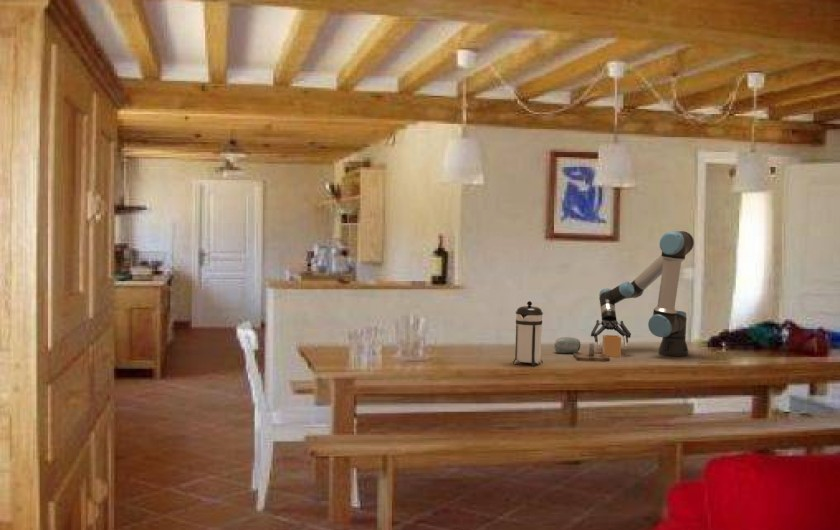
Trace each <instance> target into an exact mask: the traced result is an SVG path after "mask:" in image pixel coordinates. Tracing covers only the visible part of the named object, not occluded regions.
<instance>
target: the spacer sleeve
mask: <svg viewBox="0 0 840 530" xmlns="http://www.w3.org/2000/svg"><path fill="white" fill-rule="evenodd" d="M601 347H602V348H601V350H602V352H601V354H606V355H607V356H609V358H622V356H621V355H622V354H621V352H622V351H621V350H622V337H621V335H620V334H619V335H618V334H617V335H614V334H612V335H611V334H603V335H602V346H601Z"/></svg>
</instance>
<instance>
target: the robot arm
mask: <svg viewBox="0 0 840 530" xmlns="http://www.w3.org/2000/svg"><path fill="white" fill-rule="evenodd" d="M694 245H695V240H694V237H693V235H691V234H690V232H687V231H685V230H683V231H682V230H681V231H678V230H670V231H667V232H665V233H664V234H663V235H662V236H661V238H660V239H659V248H660V250H661V254H660V255H659V256H658V257H657V258H656V259H655V260H654V261H653V262H652V263H651V264H650V265H649V266H648V267H646V268H645V269H644V270H643V271H642V272H641V273H640V274H639V275H638V276H637V277H635V279H633V280H632V282H629V281H625V282H623V283H620V284H618V285H617V286H616V287H614V288H612V289H611V288H603V289H601V290H600V291H599V295H598V296H599V300H598V301H599V305H600V314H601V315H600V317H601V321H600V320H599V319H597V320H596V321H595V325H594V327H593V329H592V330H591V333H590V337H594V343H596V344H597V349H600V345H601V343H600V335H601V334H602V332H604V331H605V330H610V331H612V330H614V331H615V332H617V333H618V334H619V335H620V336H622V337H623V338H622V339H623V347H624V350H627V347H628V345H627V344H628V343H629V339H630V338H631V335H632V333H631V331H630V330H629V329H628V328H627V327H626V326H625V324H624V321H623V320H621V321H618V319H617V315H616V304H618V303H620V302H621V301H623V300H625V299H636V298H640V297H641V296H642V295H643V293H644V291H645V290H646V289H647V288H648V287H649V286H650V285H652V284H653V283H654V282H655V281H656V280H657V279H658V278H659V277H660V276H661V278H660V285H659V292H658V297H657V298H658V300H657V306H656V307H654V308H653V312H652V316H650V318H649V319H648V322H647V325H648V330H649V331H650V333H651V334H652V335H653V336H655V337H658V338H662V339H661V341H660V344H659V348H658V354H659V355H661V354H662V355H663V356H667V355H673V356H672V357H684V356H683V355H688V356H689V353H690V352H689V348H688V344H687V341H686V339H687V338H686V334H687V332H686V331H687V320H688V319H687V312H685V311H682V310H676V308H675V307H676V301H677V293H678V288H679V280H680V273H681V272H680V271H681V266H682V262H683V261H685V259H686V255H688V254H689V253H690V252H691V251H692V250H693V248H694ZM600 325H602V326H601V327H600V328H599V326H600ZM598 328H599V329H598ZM597 329H598V330H597Z"/></svg>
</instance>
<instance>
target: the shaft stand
mask: <svg viewBox="0 0 840 530" xmlns="http://www.w3.org/2000/svg"><path fill="white" fill-rule="evenodd" d="M588 346H589V347H588V348H589V349H588V351H589V352H588V353H578V352H577V353H573V358H574V359H575V360H576V361H577V362H578V361H579V362H580V361H581V362H607V361H610V362H611V357H608V356H607V355H606V354H602V353H595V343H589V345H588Z"/></svg>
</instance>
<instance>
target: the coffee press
mask: <svg viewBox="0 0 840 530" xmlns="http://www.w3.org/2000/svg"><path fill="white" fill-rule="evenodd" d="M526 303H527V306H526V305H524V306H519V307H518V308H517V310H516V311H515V315H516V316H515V317H516V319H515V355H514V359H513V361H512V364H513V363H514V364H515V363H516V365H517V364H518V363H525V364H526V363H527V364H530V366H531V367H535V366H536V363H538V364H540V365H542V364H543V363H544V361H543V359H542V357H541V356H542V330H543V329H542V328H543V326H542V325H543V315H544V312H543V311H542V309H541V308H540V307H538V306H532V305H533V303H532V301H530V300H529V301H527V302H526ZM541 363H542V364H541Z"/></svg>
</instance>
